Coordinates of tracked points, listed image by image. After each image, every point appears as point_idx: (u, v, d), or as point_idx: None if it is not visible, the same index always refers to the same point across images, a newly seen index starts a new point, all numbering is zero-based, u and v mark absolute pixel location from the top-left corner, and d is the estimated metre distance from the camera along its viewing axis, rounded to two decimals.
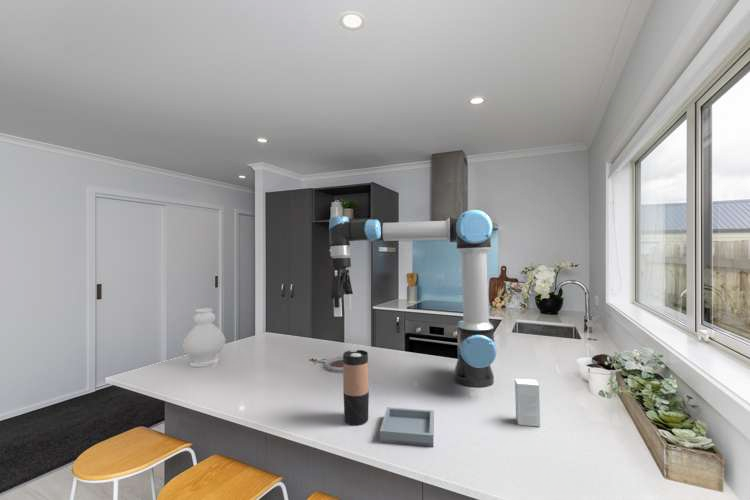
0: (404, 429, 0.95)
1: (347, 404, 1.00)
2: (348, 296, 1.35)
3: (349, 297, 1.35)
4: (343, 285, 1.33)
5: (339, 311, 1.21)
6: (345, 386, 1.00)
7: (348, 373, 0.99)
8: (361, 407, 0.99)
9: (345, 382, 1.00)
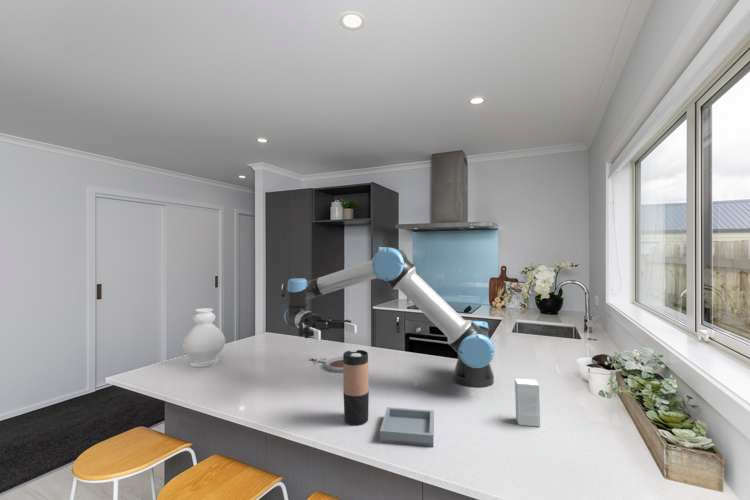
0: (404, 429, 0.95)
1: (347, 404, 1.00)
2: (345, 324, 1.19)
3: (346, 323, 1.19)
4: (333, 327, 1.21)
5: (315, 332, 1.07)
6: (345, 386, 1.00)
7: (348, 373, 0.99)
8: (361, 407, 0.99)
9: (345, 382, 1.00)
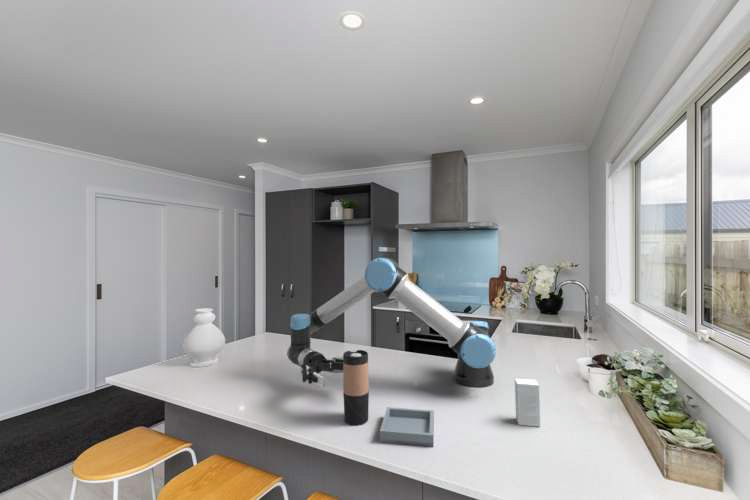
0: (404, 429, 0.95)
1: (347, 404, 1.00)
2: None
3: None
4: (337, 368, 1.18)
5: (319, 379, 1.05)
6: (345, 386, 1.00)
7: (348, 373, 0.99)
8: (361, 407, 0.99)
9: (345, 382, 1.00)
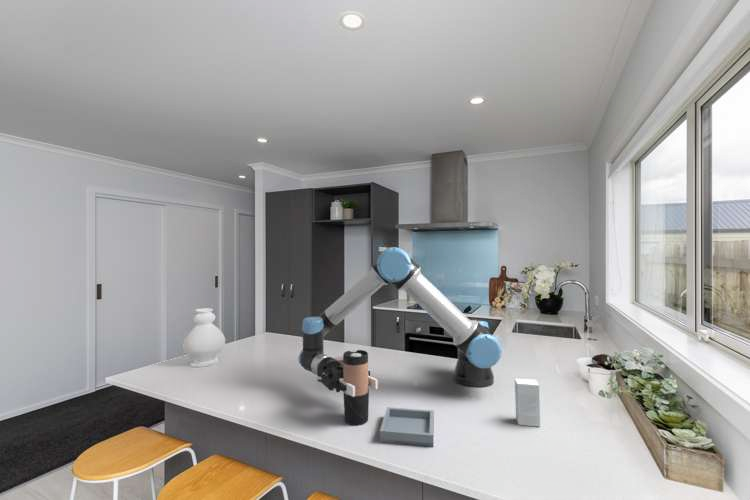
0: (404, 429, 0.95)
1: (347, 404, 1.00)
2: None
3: None
4: None
5: (349, 387, 0.97)
6: None
7: (348, 373, 0.99)
8: (361, 407, 0.99)
9: None
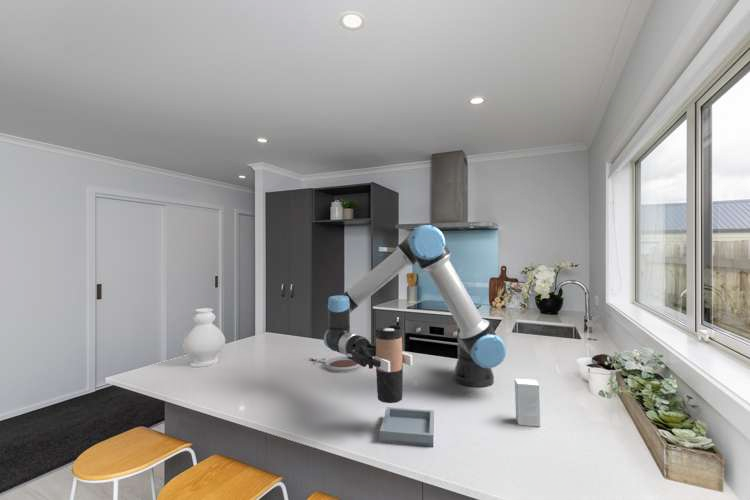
0: (404, 429, 0.95)
1: (381, 381, 0.95)
2: None
3: None
4: None
5: (383, 362, 0.92)
6: None
7: (382, 348, 0.94)
8: (396, 383, 0.94)
9: None
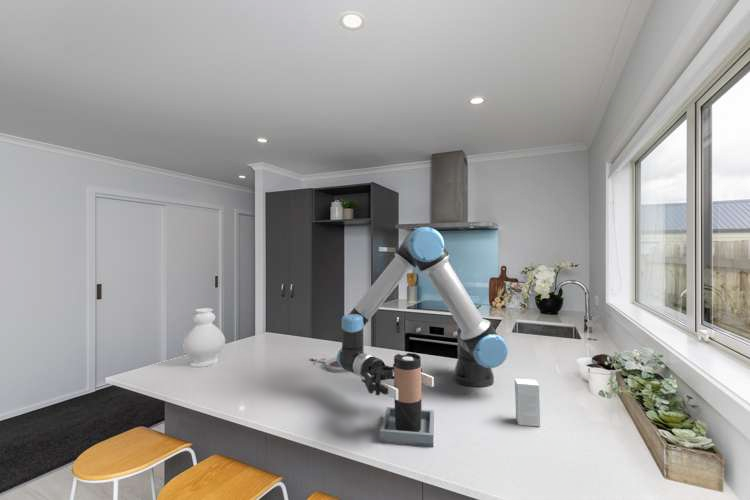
0: None
1: (400, 412, 0.93)
2: None
3: None
4: None
5: (391, 390, 0.90)
6: None
7: (401, 378, 0.93)
8: (415, 414, 0.92)
9: (397, 388, 0.93)
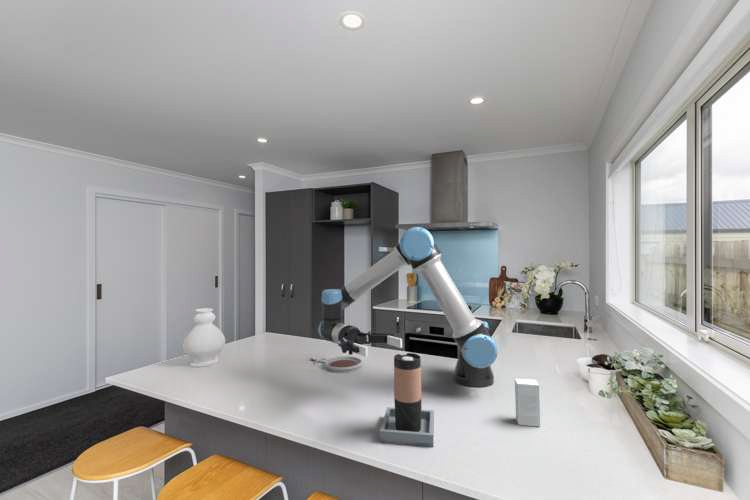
0: None
1: (400, 412, 0.93)
2: (388, 338, 1.12)
3: (389, 337, 1.12)
4: (375, 341, 1.14)
5: (362, 348, 1.01)
6: (397, 392, 0.93)
7: (401, 378, 0.93)
8: (415, 414, 0.92)
9: (397, 388, 0.93)
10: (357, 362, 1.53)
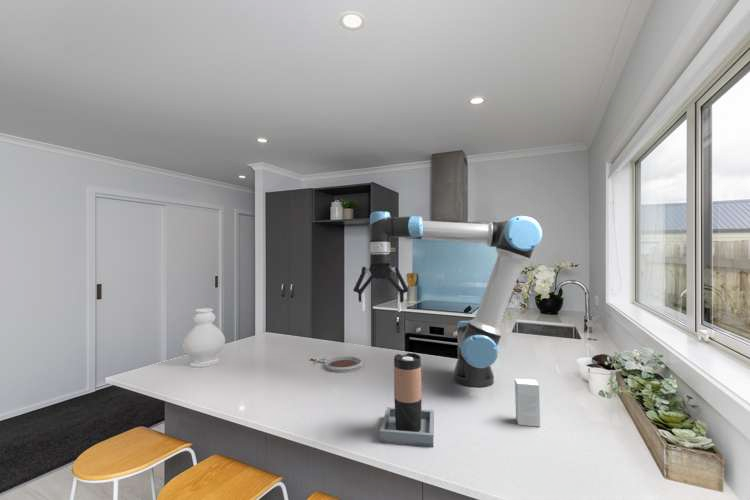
0: None
1: (400, 412, 0.93)
2: (364, 295, 1.27)
3: (364, 296, 1.28)
4: None
5: (400, 306, 1.25)
6: (397, 392, 0.93)
7: (401, 378, 0.93)
8: (415, 414, 0.92)
9: (397, 388, 0.93)
10: (357, 362, 1.53)
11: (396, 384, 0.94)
